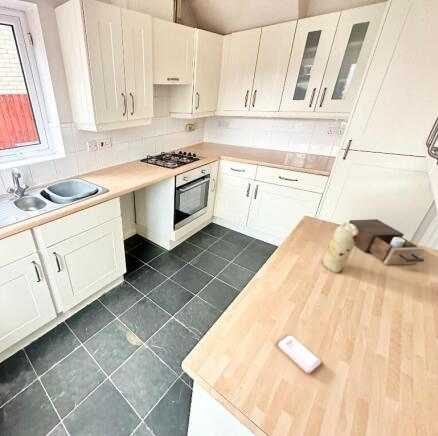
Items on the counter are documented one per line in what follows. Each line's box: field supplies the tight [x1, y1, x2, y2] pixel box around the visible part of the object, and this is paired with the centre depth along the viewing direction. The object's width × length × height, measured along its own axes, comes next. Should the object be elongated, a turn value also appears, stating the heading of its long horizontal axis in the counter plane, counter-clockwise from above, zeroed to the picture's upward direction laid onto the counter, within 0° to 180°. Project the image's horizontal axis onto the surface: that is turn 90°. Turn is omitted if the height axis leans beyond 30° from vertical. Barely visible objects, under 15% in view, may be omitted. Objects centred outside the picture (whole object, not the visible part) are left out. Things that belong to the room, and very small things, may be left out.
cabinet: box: [348, 218, 405, 254], centre depth 112 cm, size 13×13×9 cm
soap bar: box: [278, 335, 322, 374], centre depth 67 cm, size 5×9×2 cm, turn 28°
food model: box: [323, 222, 359, 274], centre depth 96 cm, size 10×7×20 cm
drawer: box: [368, 236, 425, 266], centre depth 102 cm, size 17×12×8 cm
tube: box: [387, 237, 405, 256], centre depth 102 cm, size 4×4×8 cm
